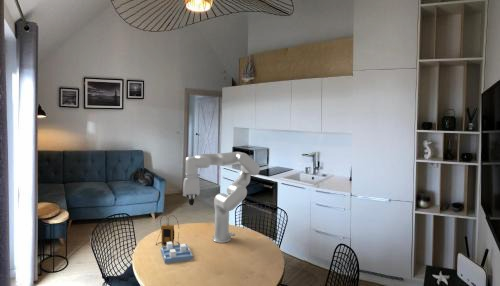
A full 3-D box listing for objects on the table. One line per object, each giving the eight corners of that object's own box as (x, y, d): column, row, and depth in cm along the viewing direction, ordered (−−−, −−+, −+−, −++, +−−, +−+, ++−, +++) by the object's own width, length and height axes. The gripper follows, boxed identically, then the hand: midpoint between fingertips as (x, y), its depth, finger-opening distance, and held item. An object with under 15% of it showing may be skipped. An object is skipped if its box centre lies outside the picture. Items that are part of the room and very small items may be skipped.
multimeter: (182, 240, 216) (183, 211, 215) (177, 246, 206) (178, 216, 205) (161, 239, 218) (161, 210, 216) (155, 245, 208) (155, 214, 206)
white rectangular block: (184, 249, 198) (184, 243, 198) (186, 252, 194) (186, 246, 194) (179, 250, 197) (180, 244, 196) (181, 253, 193) (181, 246, 193)
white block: (171, 247, 201) (171, 241, 200) (172, 250, 197) (172, 243, 197) (166, 248, 200) (166, 242, 199) (167, 250, 196) (167, 244, 196)
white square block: (174, 255, 190) (174, 248, 189) (175, 258, 186) (176, 251, 186) (169, 256, 188) (169, 249, 188) (170, 259, 185) (170, 252, 184)
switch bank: (186, 247, 205) (186, 243, 205) (192, 259, 189) (192, 255, 189) (160, 250, 199) (160, 246, 199) (164, 263, 183) (164, 259, 182)
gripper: (201, 174, 211) (201, 202, 212) (178, 175, 205) (178, 204, 207) (204, 176, 204) (204, 205, 206) (180, 178, 198) (180, 207, 200)
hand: (191, 204), depth 206 cm, fingers closed
